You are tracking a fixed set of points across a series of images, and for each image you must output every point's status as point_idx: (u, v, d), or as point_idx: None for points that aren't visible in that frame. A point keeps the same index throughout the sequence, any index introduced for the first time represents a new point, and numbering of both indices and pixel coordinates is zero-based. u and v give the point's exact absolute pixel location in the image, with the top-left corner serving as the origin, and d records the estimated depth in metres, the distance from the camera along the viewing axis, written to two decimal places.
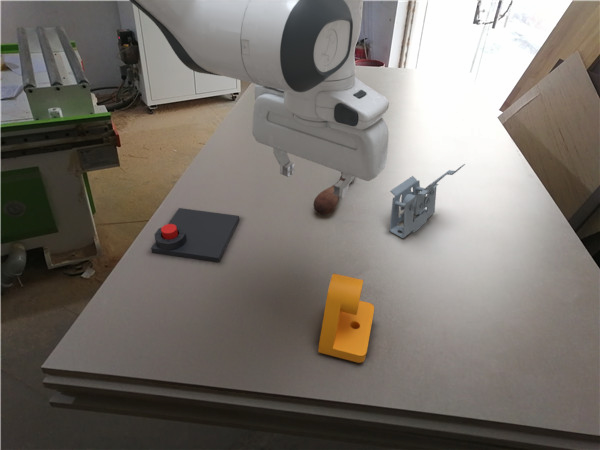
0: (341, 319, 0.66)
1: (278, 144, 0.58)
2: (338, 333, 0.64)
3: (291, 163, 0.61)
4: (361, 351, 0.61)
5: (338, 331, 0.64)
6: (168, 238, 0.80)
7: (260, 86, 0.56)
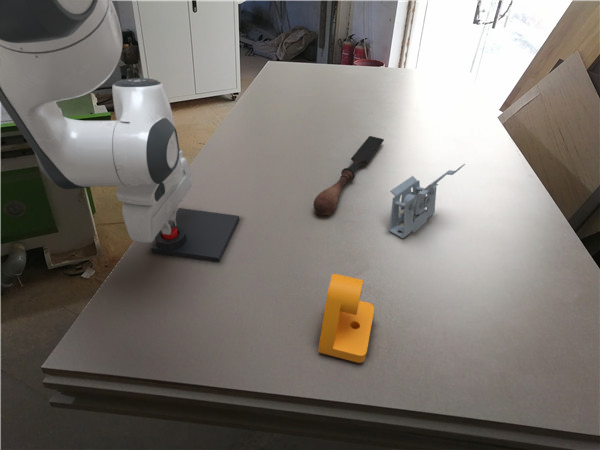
0: (341, 319, 0.66)
1: None
2: (338, 333, 0.64)
3: (171, 222, 0.80)
4: (361, 351, 0.61)
5: (338, 331, 0.64)
6: None
7: None
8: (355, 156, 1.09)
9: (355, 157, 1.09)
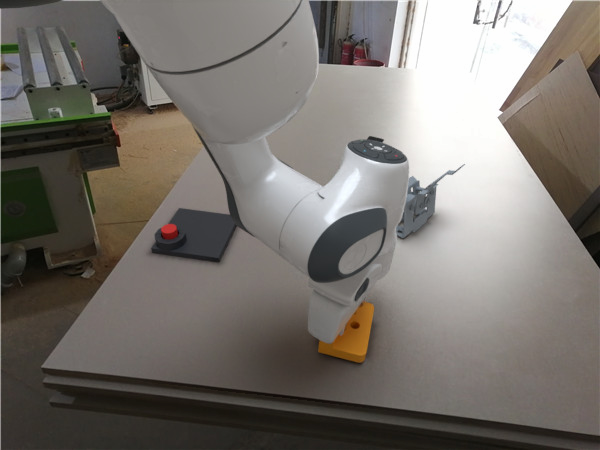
0: None
1: None
2: None
3: None
4: (360, 350, 0.61)
5: None
6: (168, 238, 0.80)
7: None
8: None
9: None
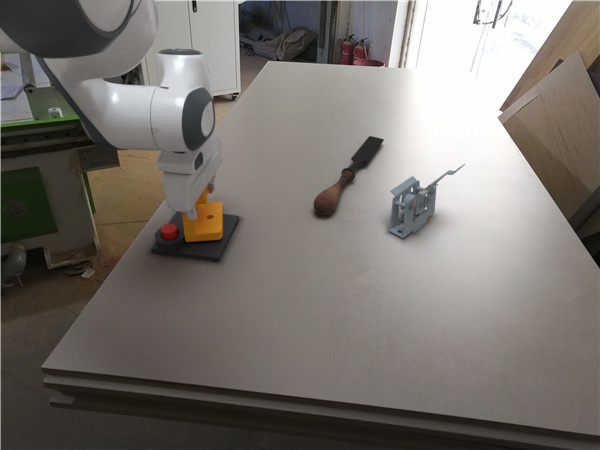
0: (198, 216, 0.84)
1: None
2: (198, 224, 0.82)
3: (210, 185, 0.84)
4: (217, 229, 0.81)
5: (197, 223, 0.83)
6: (168, 238, 0.80)
7: None
8: (355, 156, 1.09)
9: (355, 157, 1.09)
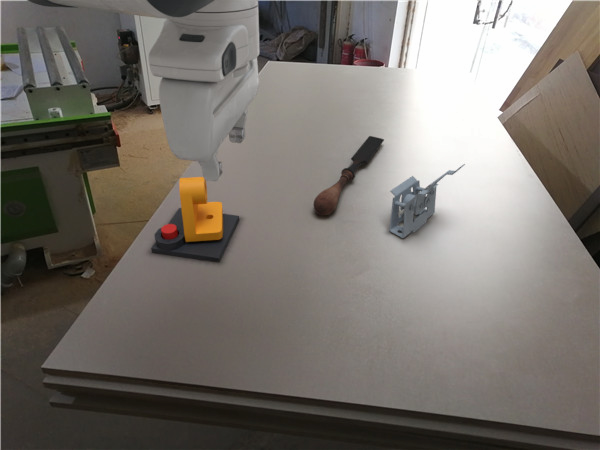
0: (198, 216, 0.84)
1: None
2: (198, 224, 0.82)
3: (239, 129, 0.51)
4: (217, 229, 0.81)
5: (197, 223, 0.83)
6: (168, 238, 0.80)
7: None
8: (355, 156, 1.09)
9: (355, 157, 1.09)
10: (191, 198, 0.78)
